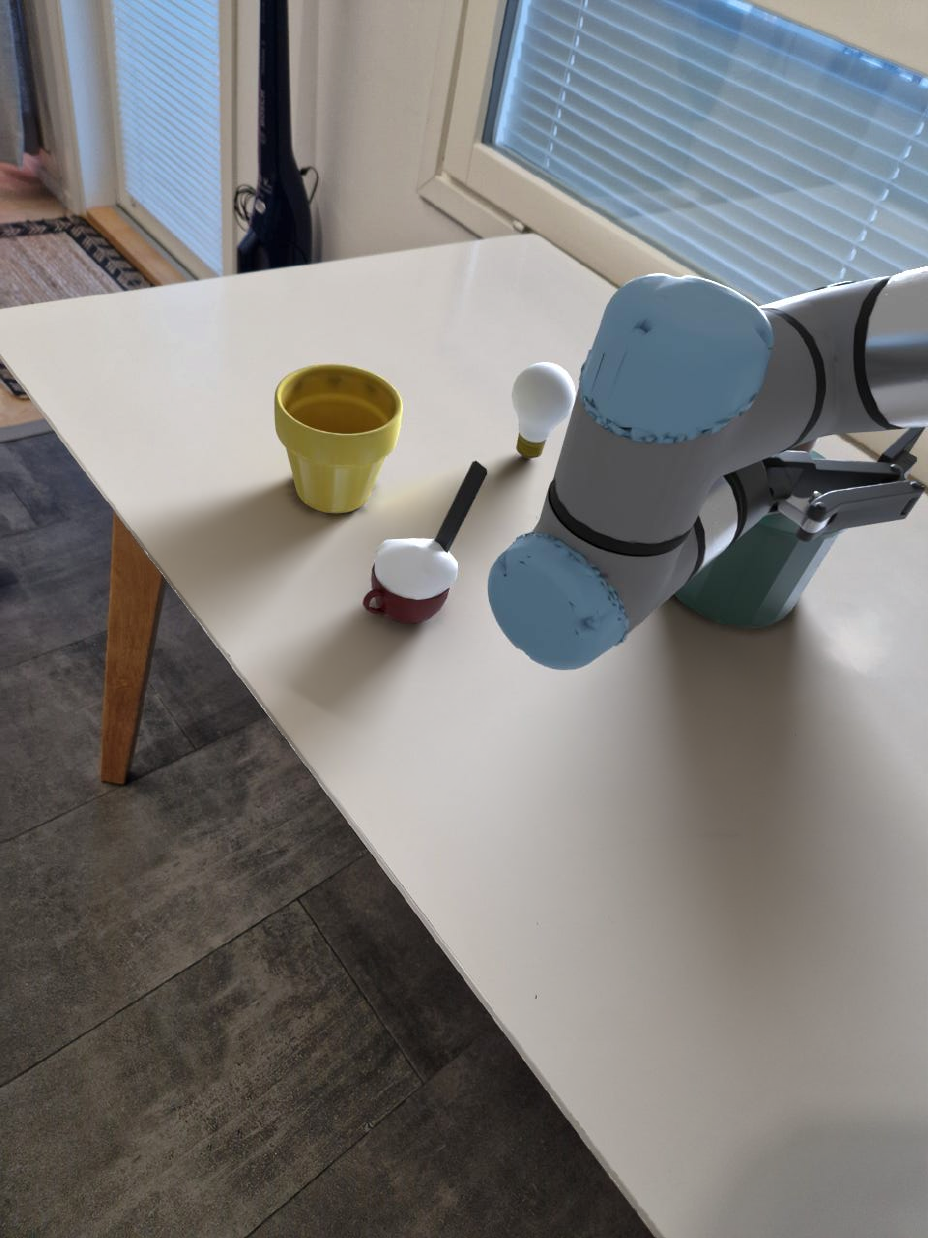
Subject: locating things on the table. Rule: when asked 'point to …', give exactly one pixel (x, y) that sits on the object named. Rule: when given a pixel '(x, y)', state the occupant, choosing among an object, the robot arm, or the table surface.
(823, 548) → the canister
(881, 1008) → the table surface
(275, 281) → the table surface
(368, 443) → the flower pot
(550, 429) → the light bulb
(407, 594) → the cocoa
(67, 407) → the table surface
